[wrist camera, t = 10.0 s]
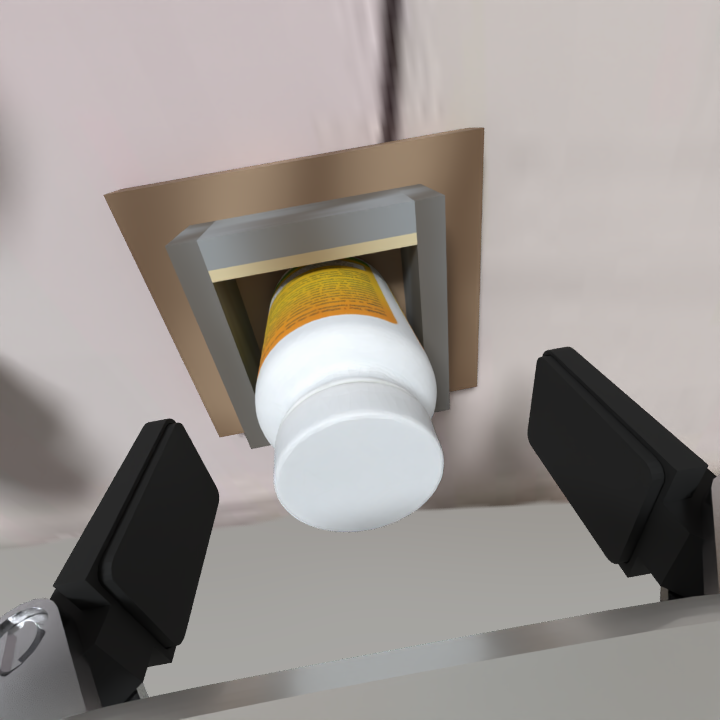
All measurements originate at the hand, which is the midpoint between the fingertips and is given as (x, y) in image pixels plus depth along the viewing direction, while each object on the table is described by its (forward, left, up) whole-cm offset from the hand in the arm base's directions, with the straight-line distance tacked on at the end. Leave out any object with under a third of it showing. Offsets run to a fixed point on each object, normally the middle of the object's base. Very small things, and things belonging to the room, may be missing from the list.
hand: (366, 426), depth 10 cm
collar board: (+1, 0, -10) cm, 10 cm away
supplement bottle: (0, 0, -8) cm, 8 cm away
